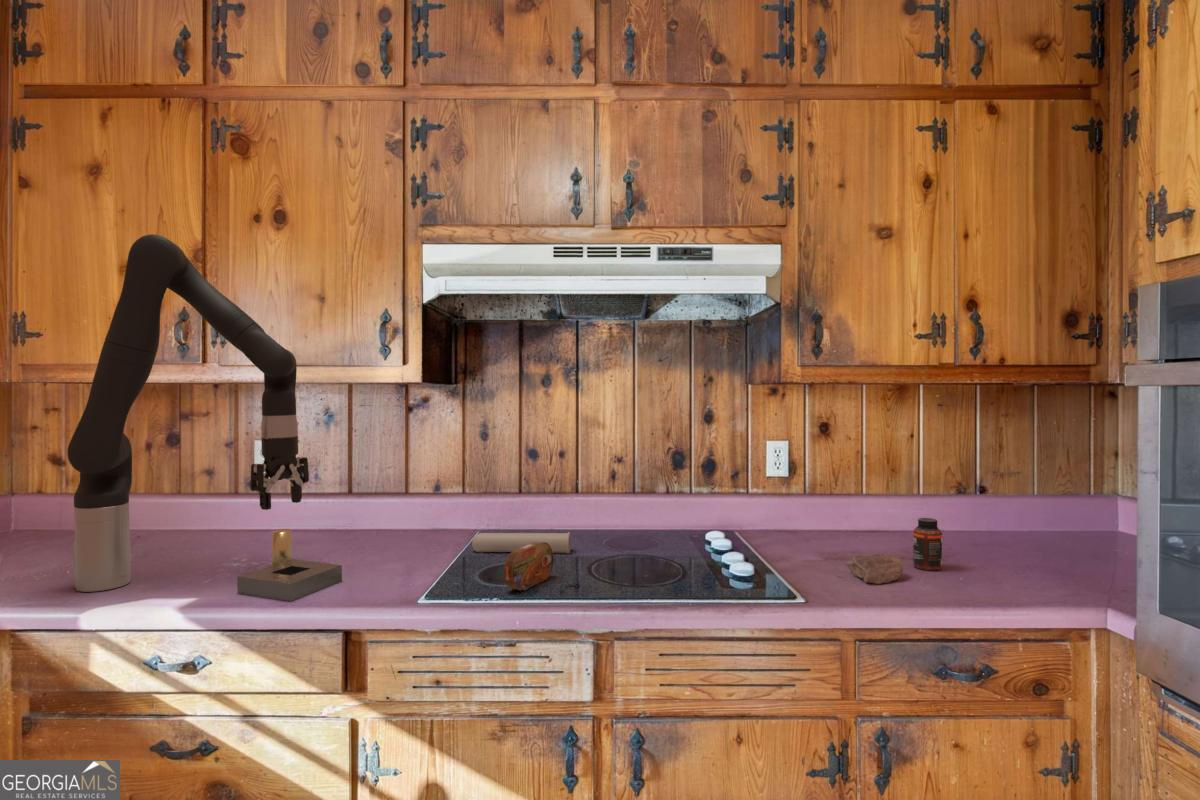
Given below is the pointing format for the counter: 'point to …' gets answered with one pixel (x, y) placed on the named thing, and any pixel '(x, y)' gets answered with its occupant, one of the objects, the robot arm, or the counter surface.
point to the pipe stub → (281, 545)
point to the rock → (876, 568)
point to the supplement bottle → (927, 545)
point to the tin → (528, 565)
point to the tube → (520, 541)
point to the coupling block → (289, 579)
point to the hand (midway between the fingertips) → (281, 505)
